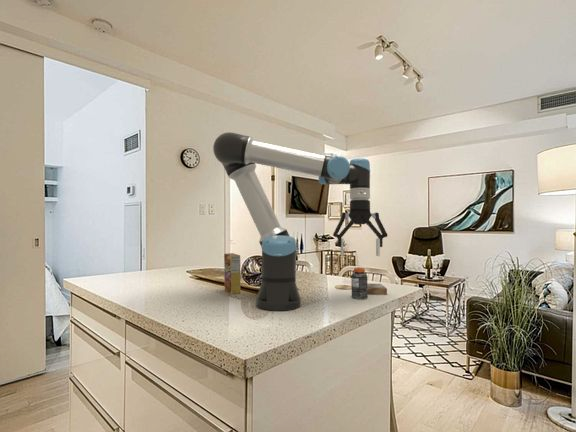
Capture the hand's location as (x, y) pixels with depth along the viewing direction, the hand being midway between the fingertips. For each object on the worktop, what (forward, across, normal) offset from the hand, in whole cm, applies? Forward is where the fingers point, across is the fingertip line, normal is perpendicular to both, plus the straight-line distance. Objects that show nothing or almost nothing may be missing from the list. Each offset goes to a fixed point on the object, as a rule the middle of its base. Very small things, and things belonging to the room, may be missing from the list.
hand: (359, 255), depth 125 cm
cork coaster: (+16, -3, +19) cm, 25 cm away
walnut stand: (+16, +7, +11) cm, 20 cm away
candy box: (+16, -50, +8) cm, 53 cm away
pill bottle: (+16, 0, 0) cm, 16 cm away
